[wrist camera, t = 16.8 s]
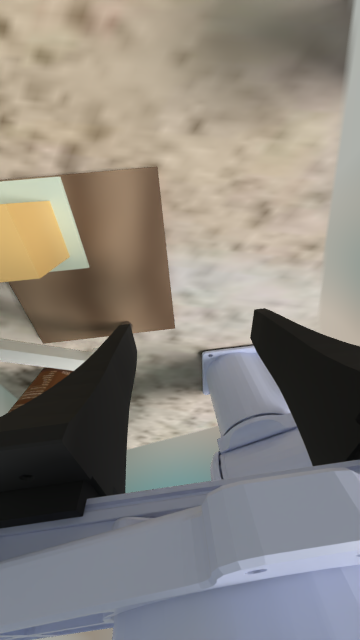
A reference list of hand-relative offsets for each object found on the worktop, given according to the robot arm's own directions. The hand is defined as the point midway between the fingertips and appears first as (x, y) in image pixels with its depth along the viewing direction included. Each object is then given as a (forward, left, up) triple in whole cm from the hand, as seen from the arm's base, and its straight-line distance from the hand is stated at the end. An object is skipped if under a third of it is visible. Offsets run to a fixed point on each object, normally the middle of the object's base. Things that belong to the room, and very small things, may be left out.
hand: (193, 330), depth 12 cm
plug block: (+11, -5, -8) cm, 15 cm away
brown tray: (+8, -2, -9) cm, 12 cm away
